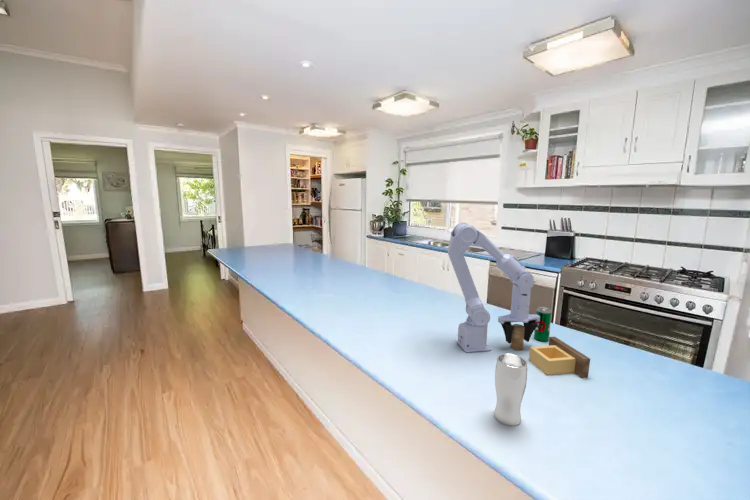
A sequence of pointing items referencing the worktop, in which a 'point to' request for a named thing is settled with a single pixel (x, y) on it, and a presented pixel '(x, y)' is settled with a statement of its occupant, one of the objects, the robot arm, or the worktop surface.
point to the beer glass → (510, 388)
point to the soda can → (543, 324)
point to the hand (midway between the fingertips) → (517, 341)
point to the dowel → (517, 337)
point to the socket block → (552, 360)
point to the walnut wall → (581, 359)
